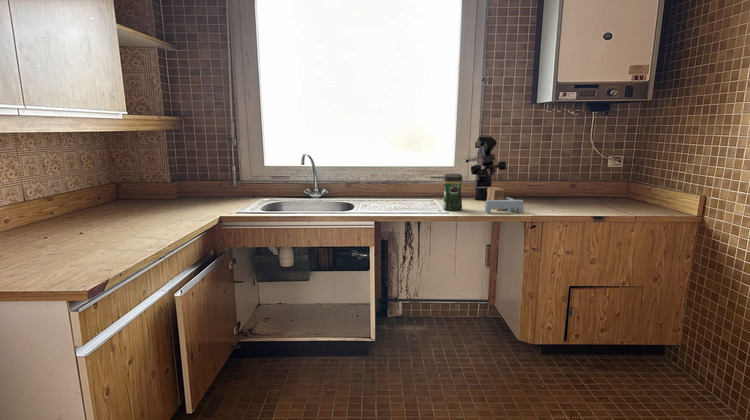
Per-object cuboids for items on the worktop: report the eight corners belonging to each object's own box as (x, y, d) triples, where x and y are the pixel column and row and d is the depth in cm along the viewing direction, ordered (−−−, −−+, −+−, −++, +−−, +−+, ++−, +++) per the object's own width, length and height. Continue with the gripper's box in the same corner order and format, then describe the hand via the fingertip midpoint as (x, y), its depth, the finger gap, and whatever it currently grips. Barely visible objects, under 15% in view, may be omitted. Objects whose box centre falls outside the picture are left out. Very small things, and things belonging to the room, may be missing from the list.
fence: (479, 208, 227) (480, 197, 226) (514, 208, 228) (514, 196, 227) (486, 213, 215) (487, 201, 214) (522, 212, 216) (523, 200, 215)
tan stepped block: (486, 205, 237) (487, 186, 235) (495, 205, 237) (496, 186, 235) (496, 211, 221) (497, 191, 219) (505, 210, 221) (507, 191, 219)
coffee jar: (459, 208, 229) (461, 172, 226) (463, 211, 222) (464, 174, 218) (441, 208, 229) (442, 172, 226) (444, 211, 221) (445, 174, 218)
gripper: (468, 152, 239) (471, 178, 233) (503, 146, 234) (507, 172, 228) (470, 161, 249) (473, 186, 243) (504, 156, 244) (508, 181, 238)
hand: (490, 181), depth 238 cm, fingers closed
